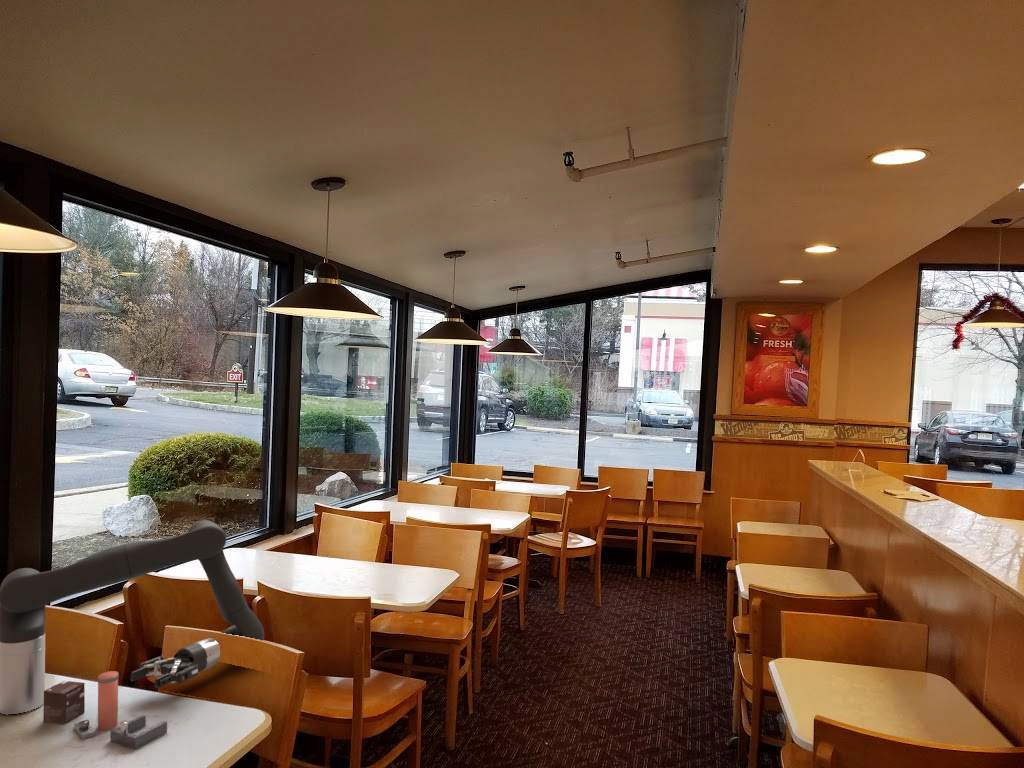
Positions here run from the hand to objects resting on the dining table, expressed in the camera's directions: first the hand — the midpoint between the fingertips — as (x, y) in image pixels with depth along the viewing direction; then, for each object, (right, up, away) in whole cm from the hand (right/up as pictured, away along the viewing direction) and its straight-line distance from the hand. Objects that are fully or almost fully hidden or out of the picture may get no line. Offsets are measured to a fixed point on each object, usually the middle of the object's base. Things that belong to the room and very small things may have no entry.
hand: (143, 680), depth 167 cm
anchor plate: (-8, -7, -11) cm, 15 cm away
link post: (-4, -7, -8) cm, 12 cm away
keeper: (+6, -7, -13) cm, 16 cm away
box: (-17, -7, -4) cm, 18 cm away
